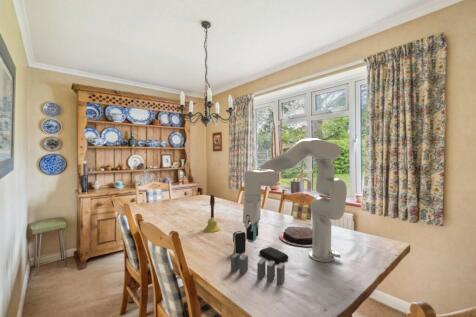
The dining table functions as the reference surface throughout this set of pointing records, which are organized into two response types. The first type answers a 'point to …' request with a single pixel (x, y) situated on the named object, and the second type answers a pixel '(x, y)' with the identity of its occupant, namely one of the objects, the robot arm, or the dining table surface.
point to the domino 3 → (253, 233)
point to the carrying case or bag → (273, 254)
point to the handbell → (212, 219)
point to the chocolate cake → (297, 236)
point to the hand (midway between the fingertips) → (252, 237)
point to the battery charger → (239, 241)
